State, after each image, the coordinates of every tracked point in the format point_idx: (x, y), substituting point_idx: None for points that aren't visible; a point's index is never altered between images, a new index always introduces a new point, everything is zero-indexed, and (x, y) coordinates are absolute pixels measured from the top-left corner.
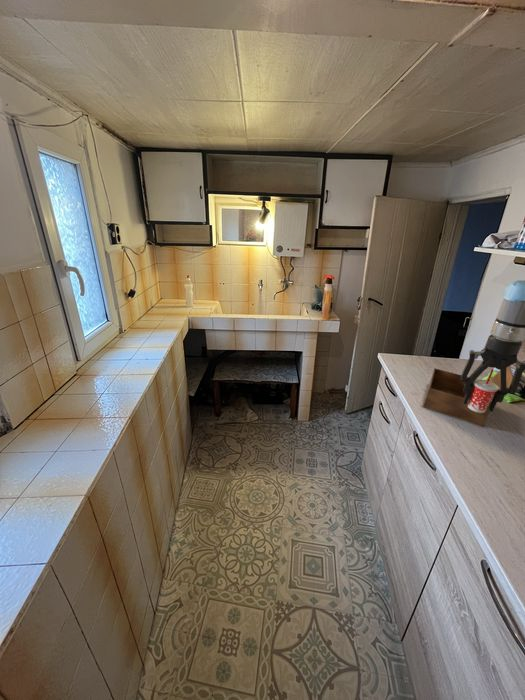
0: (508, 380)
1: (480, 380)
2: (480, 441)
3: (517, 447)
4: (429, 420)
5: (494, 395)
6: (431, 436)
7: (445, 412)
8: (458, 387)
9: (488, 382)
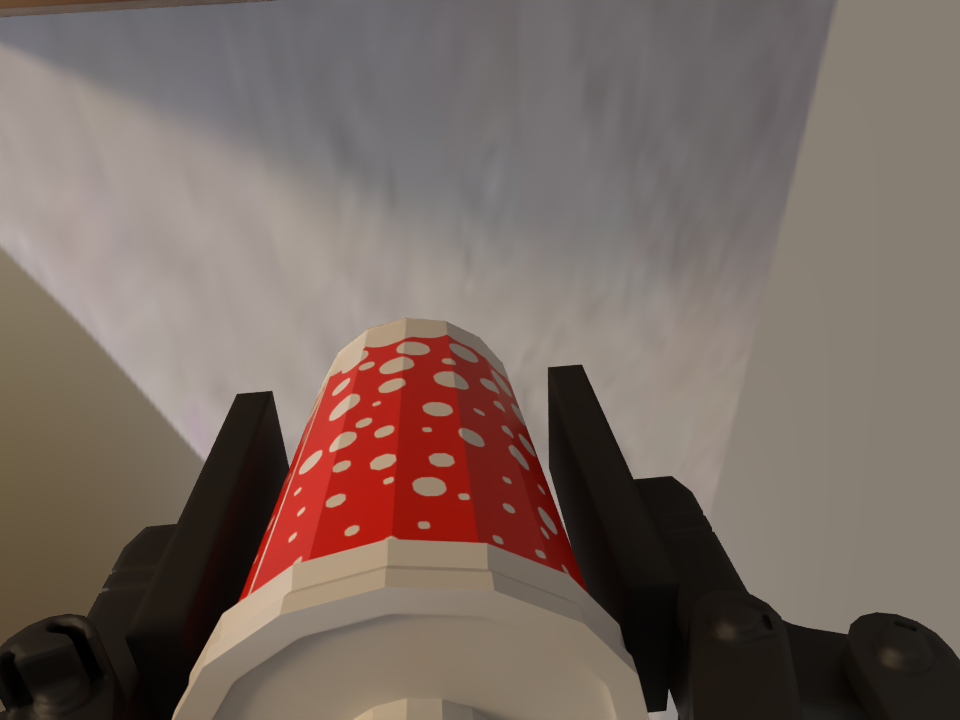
0: None
1: (275, 655)
2: (527, 269)
3: (788, 145)
4: (117, 252)
5: (592, 511)
6: None
7: (178, 5)
8: None
9: (451, 635)
